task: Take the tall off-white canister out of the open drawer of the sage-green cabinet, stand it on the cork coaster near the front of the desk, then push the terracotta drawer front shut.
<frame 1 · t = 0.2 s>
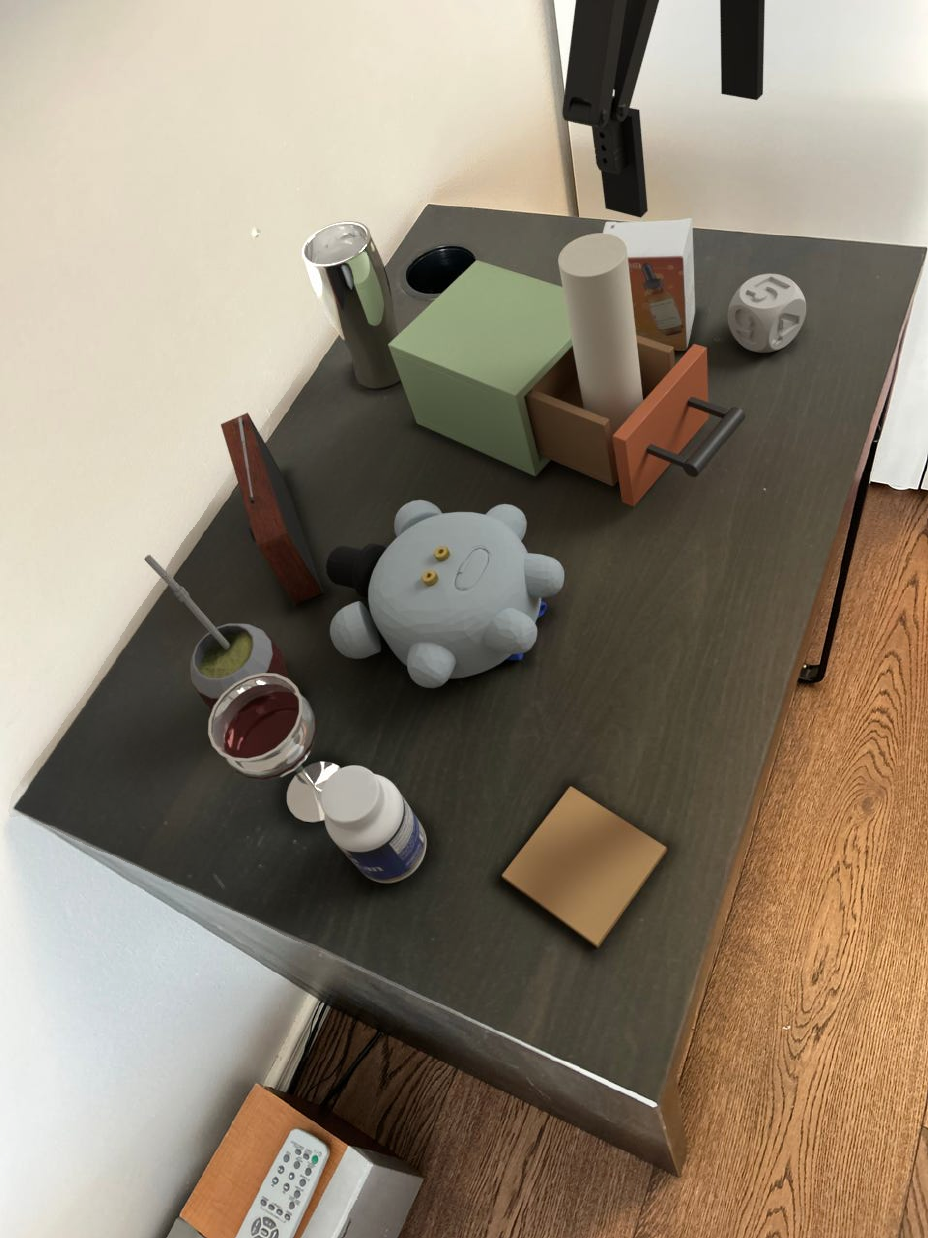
hand: (686, 150, 64), 27 cm above the table, tool pointing down, fingers open, 13 cm apart
canister: (616, 430, 85), point 2 cm above the table, touching drawer
cabinet: (515, 405, 93), on the table
mate gourd: (261, 701, 80), on the table
figurine: (447, 613, 81), on the table
pill bottle: (392, 850, 70), on the table
drawer: (625, 411, 82), point 5 cm above the table, slide at 9.0 cm, touching canister
radio: (290, 546, 89), on the table
die: (765, 336, 90), on the table
metal tumbler: (384, 370, 100), on the table
coaster: (584, 864, 66), on the table
wineglass: (318, 792, 74), on the table
small box: (651, 333, 94), on the table
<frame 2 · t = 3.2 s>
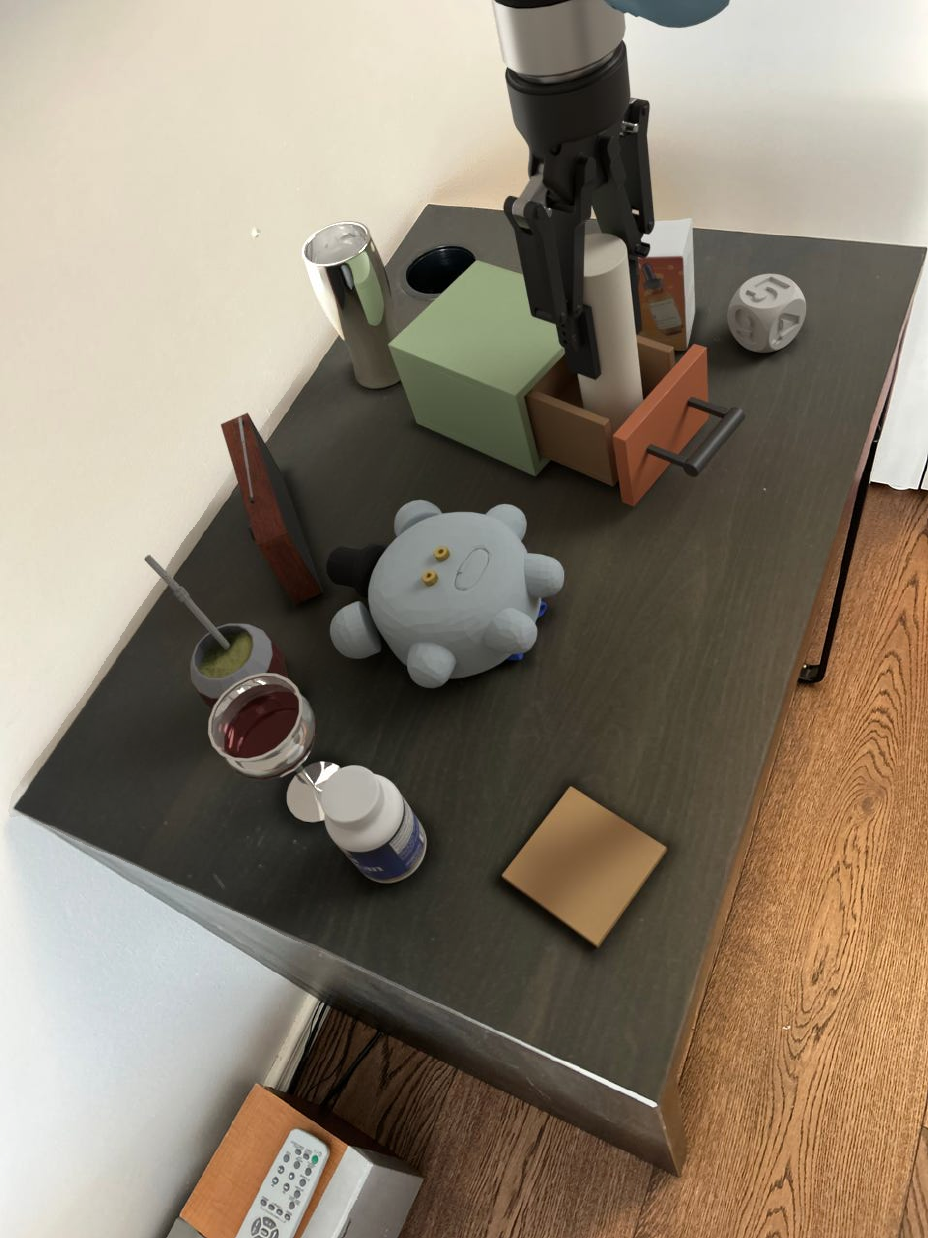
hand: (605, 349, 78), 11 cm above the table, tool pointing down, fingers closed on canister, 5 cm apart
canister: (616, 430, 85), point 2 cm above the table, touching drawer, gripper
everything else where it was.
when the fingers open (10 cm above the table, at t = 12.5 s): canister stays where it is, resting on coaster.
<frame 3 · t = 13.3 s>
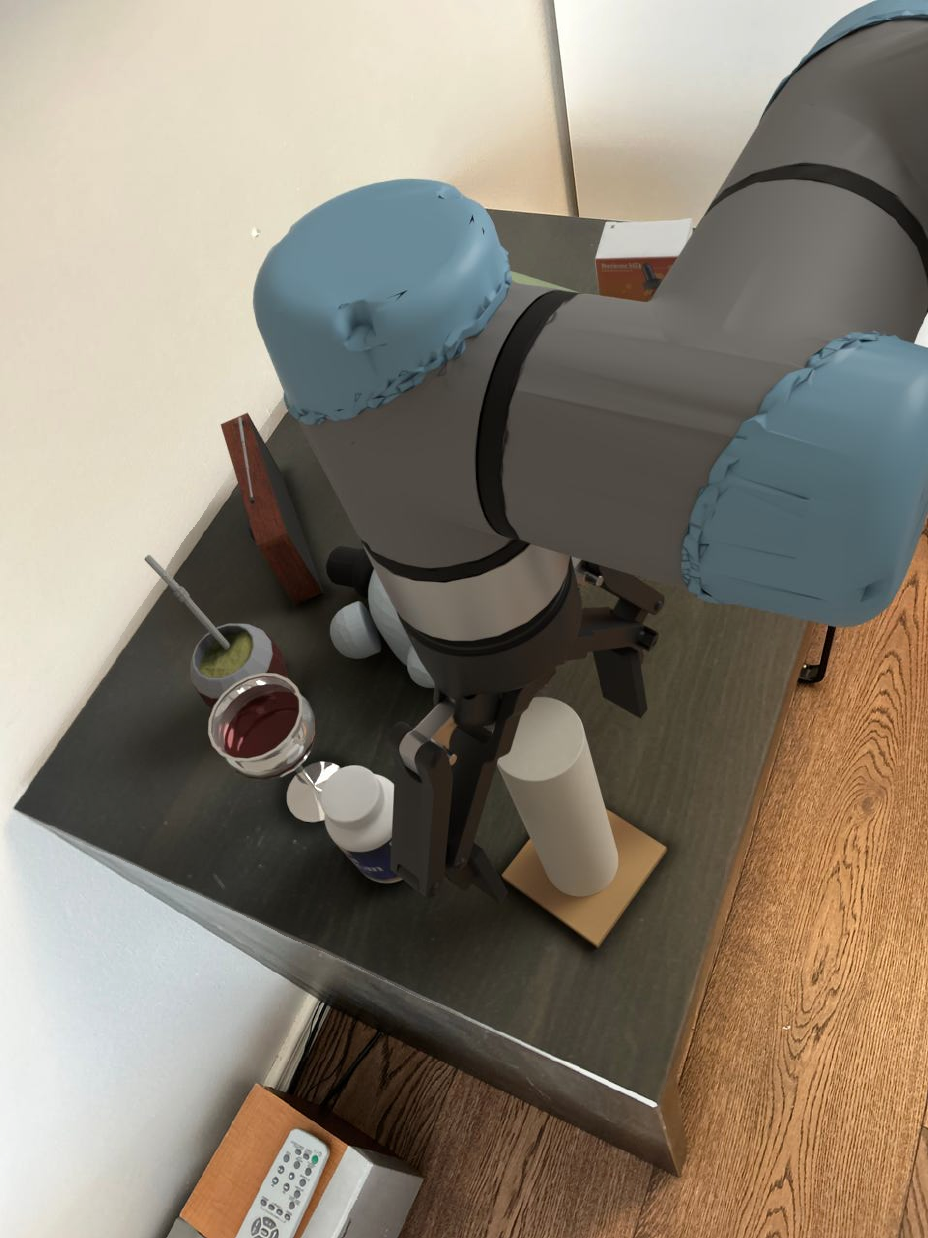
hand: (558, 790, 56), 12 cm above the table, tool pointing down, fingers open, 13 cm apart
canister: (581, 860, 65), point 1 cm above the table, touching coaster
drawer: (625, 411, 82), point 5 cm above the table, slide at 9.0 cm
everything else where it was.
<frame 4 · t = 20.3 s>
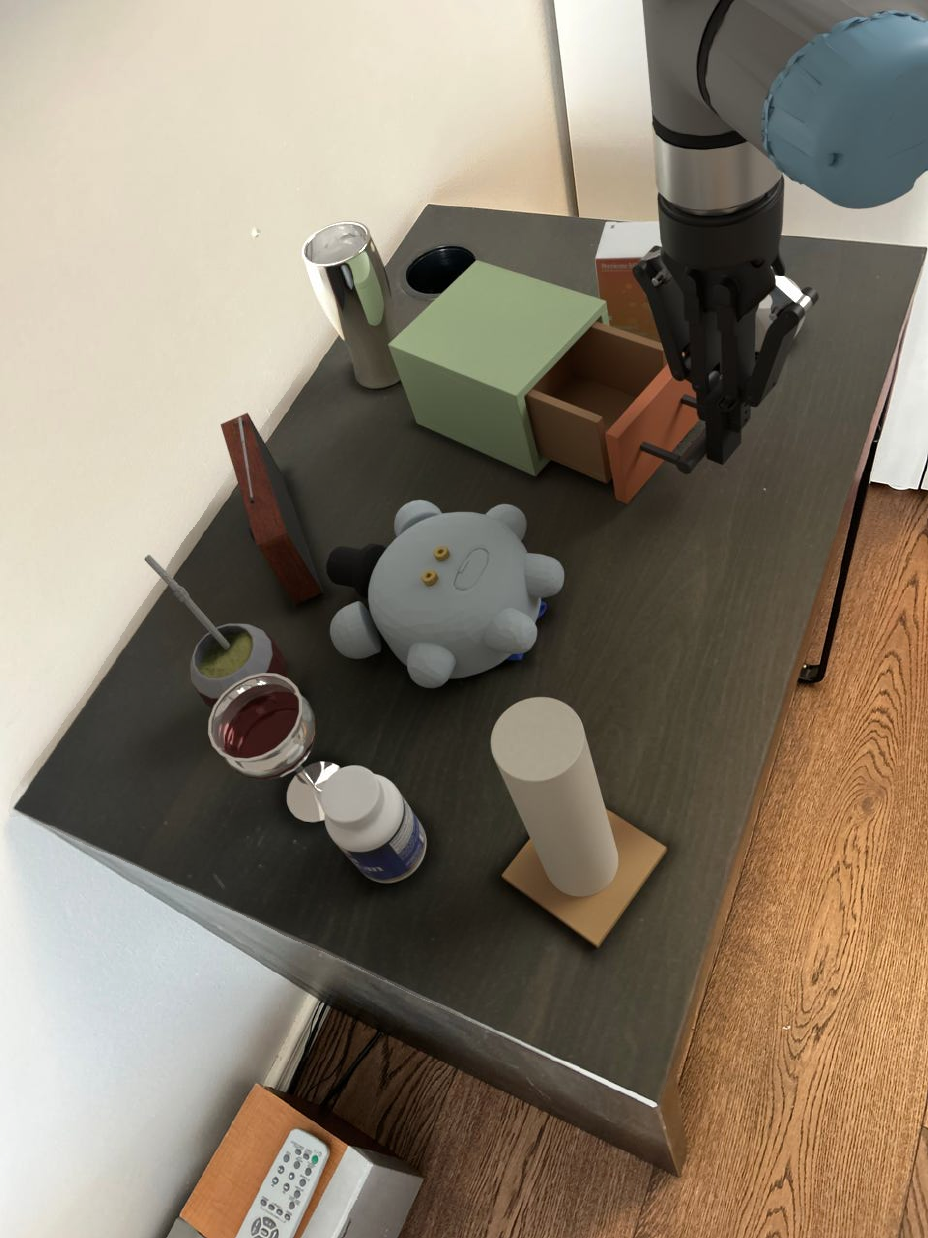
hand: (723, 450, 78), 5 cm above the table, tool pointing down, fingers closed
drawer: (619, 409, 82), point 5 cm above the table, slide at 8.3 cm, touching gripper
everything else where it was.
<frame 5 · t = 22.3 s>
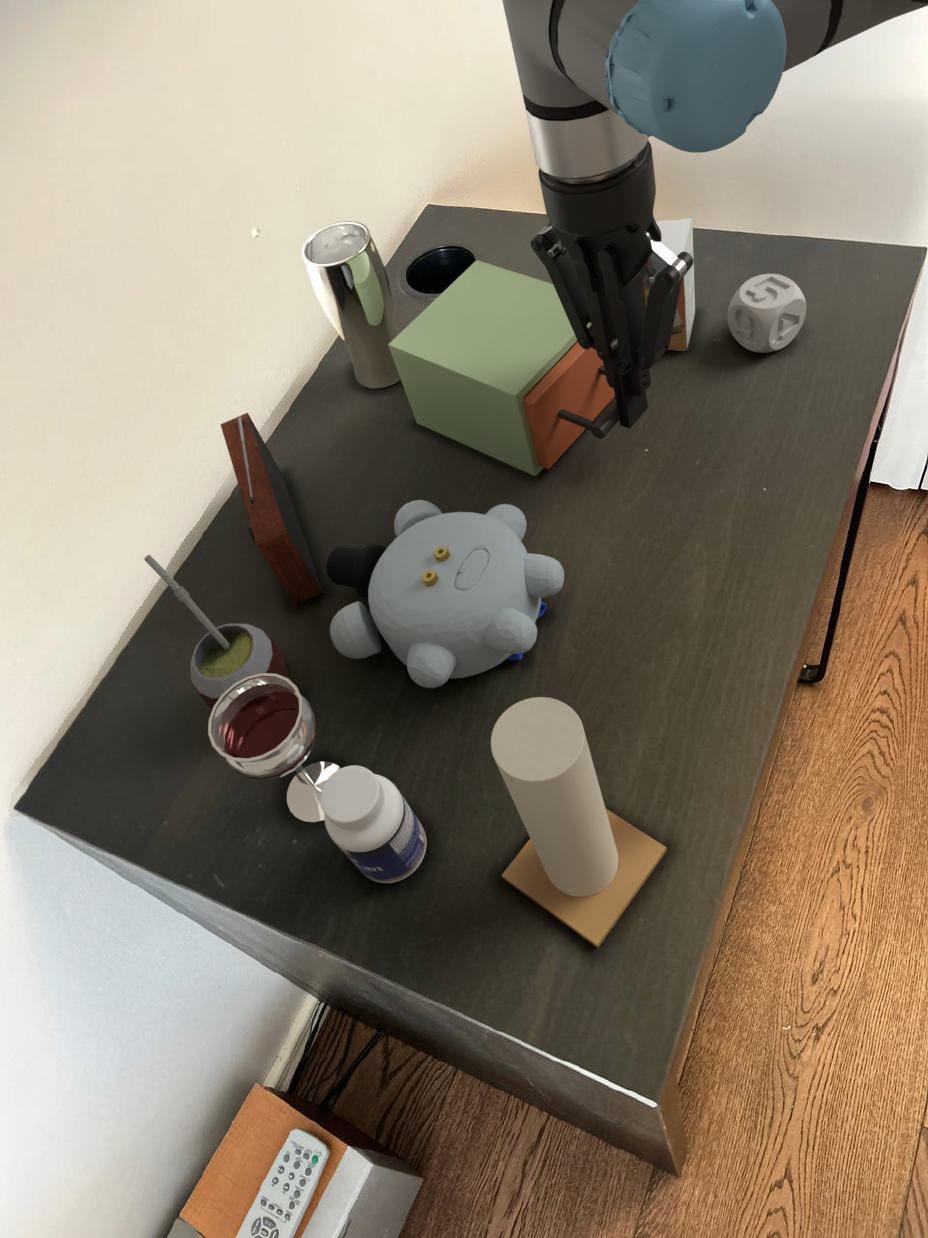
hand: (633, 416, 82), 5 cm above the table, tool pointing down, fingers closed
drawer: (542, 379, 87), point 5 cm above the table, slide at 0.0 cm, touching cabinet, gripper
everything else where it was.
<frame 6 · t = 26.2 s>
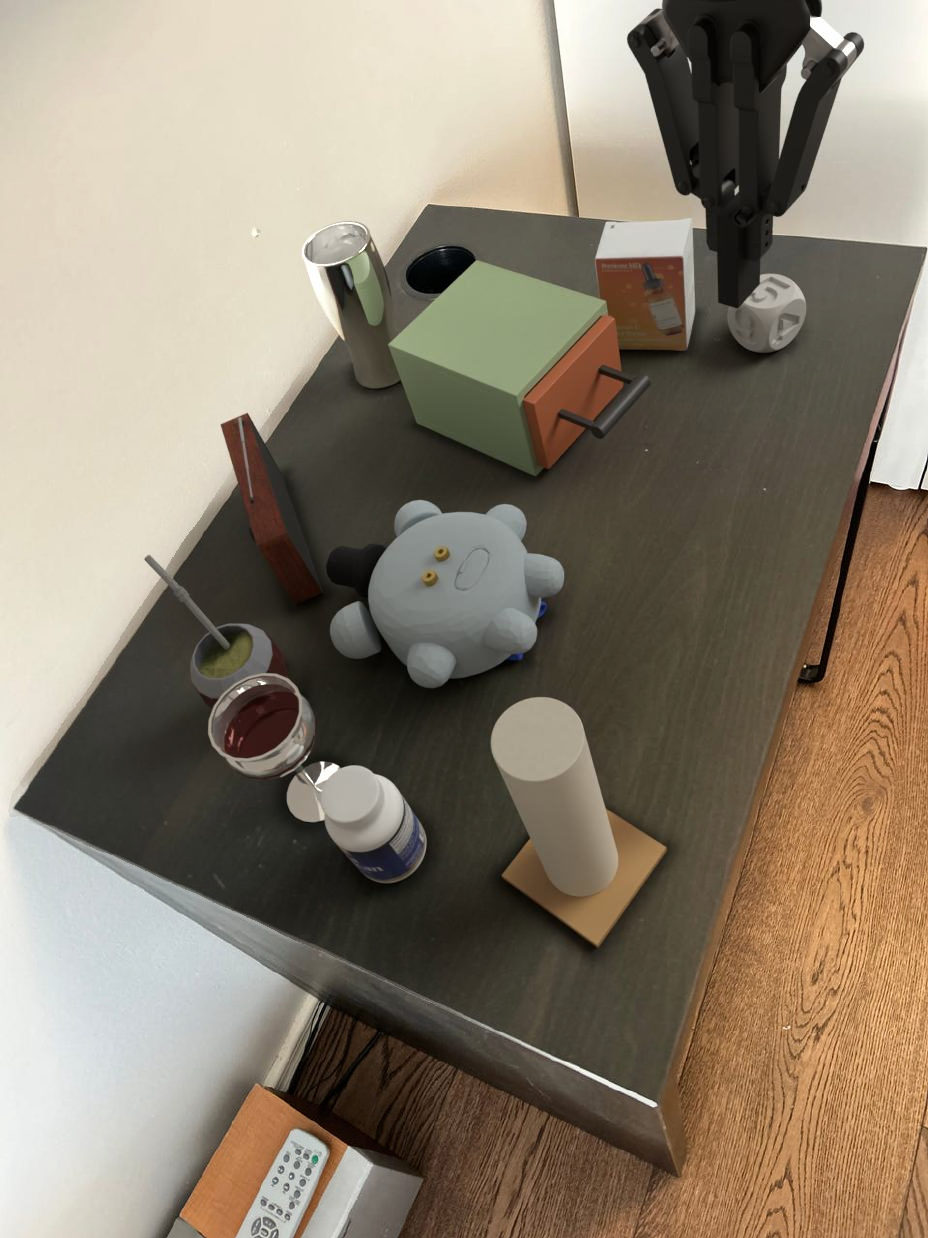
hand: (739, 292, 64), 20 cm above the table, tool pointing down, fingers closed
drawer: (542, 379, 87), point 5 cm above the table, slide at 0.0 cm, touching cabinet
everything else where it was.
at the end: canister inside the target area on the coaster (0.1 cm from its centre), point 0.6 cm above the coaster's base; canister tilted 0°; drawer slide at 0.0 cm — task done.
